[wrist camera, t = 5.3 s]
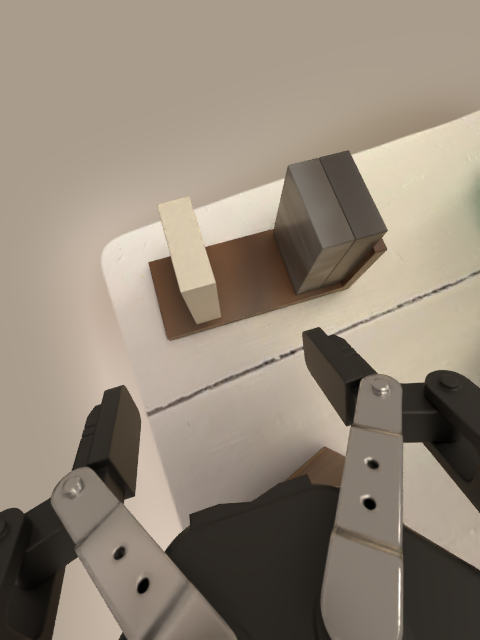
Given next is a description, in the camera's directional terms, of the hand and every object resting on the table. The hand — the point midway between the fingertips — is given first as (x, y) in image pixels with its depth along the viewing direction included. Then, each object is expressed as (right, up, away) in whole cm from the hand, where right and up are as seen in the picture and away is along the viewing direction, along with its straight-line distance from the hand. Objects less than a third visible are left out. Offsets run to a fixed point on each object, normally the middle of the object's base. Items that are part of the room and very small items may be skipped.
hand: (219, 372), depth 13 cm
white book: (-3, +6, +16) cm, 17 cm away
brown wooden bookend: (+2, +7, +17) cm, 18 cm away
